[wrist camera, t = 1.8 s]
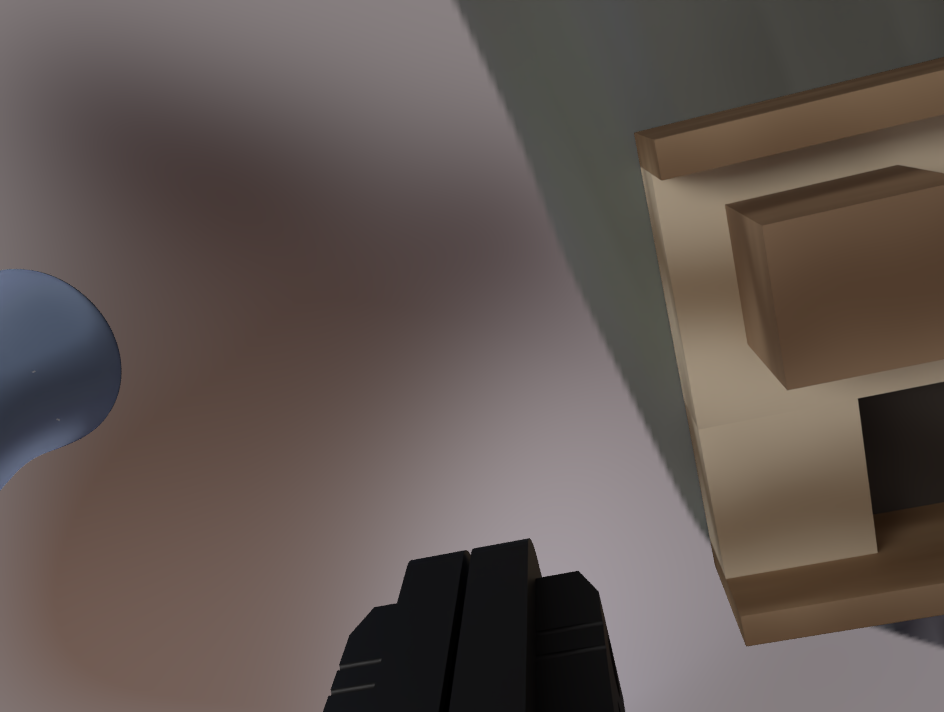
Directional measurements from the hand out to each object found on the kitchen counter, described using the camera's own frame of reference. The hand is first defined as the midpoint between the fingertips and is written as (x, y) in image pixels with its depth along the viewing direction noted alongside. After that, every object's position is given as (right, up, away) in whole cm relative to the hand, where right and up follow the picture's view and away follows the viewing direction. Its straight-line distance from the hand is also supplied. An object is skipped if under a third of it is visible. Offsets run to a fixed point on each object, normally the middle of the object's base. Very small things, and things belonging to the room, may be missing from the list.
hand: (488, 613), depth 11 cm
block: (+9, +6, +13) cm, 17 cm away
